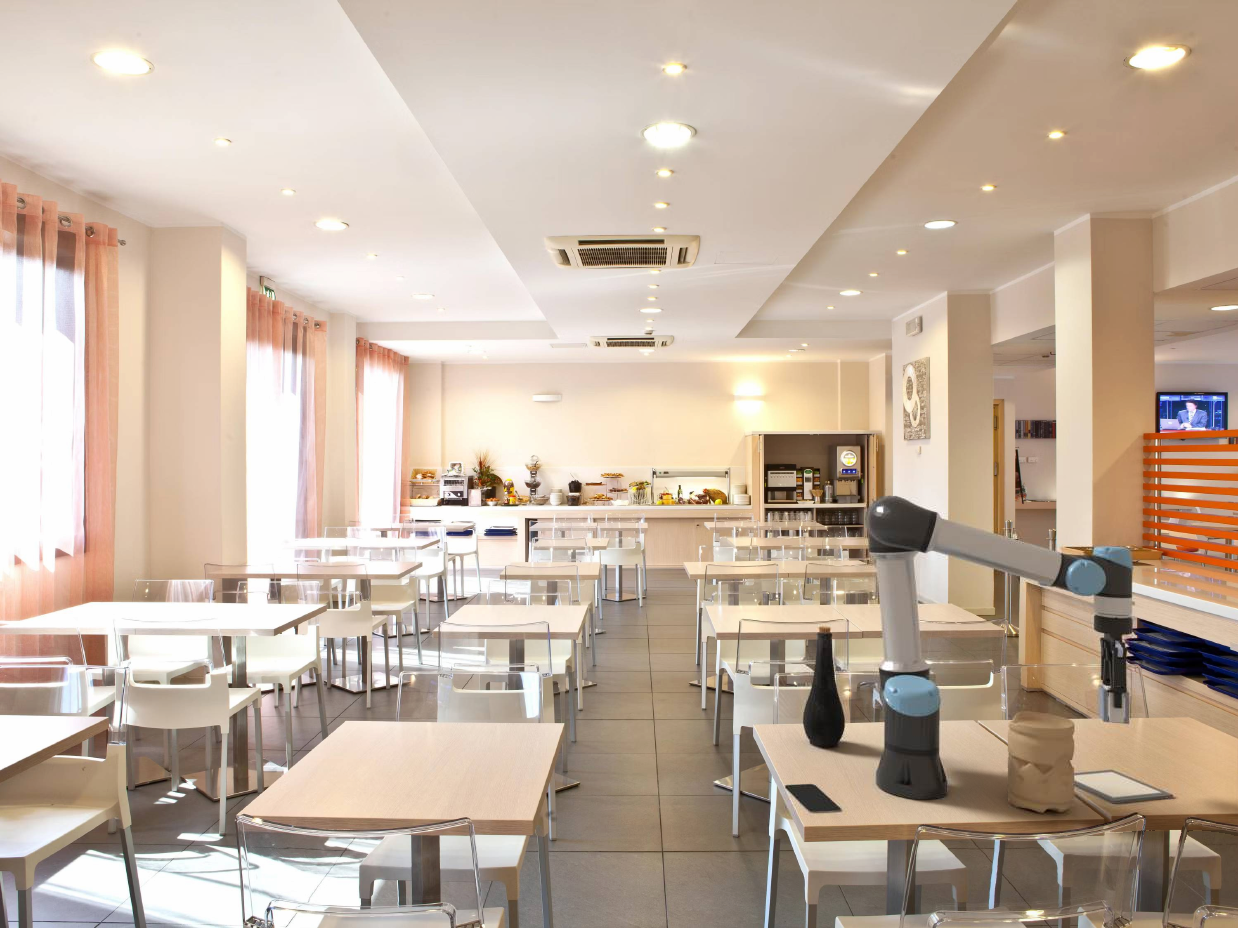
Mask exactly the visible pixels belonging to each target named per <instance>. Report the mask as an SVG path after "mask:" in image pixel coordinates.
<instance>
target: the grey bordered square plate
mask: <svg viewBox="0 0 1238 928" xmlns="http://www.w3.org/2000/svg"><path fill="white" fill-rule="evenodd" d="M1074 787H1076V788H1079V789H1080V790H1083V791H1084V792H1087V793H1089V794H1091V795H1093V796H1095V797H1099V798H1100V799H1102V800H1105V801H1107V802H1109V803H1111V804H1113V805H1114V804H1115V805H1116V804H1123V803H1124V802H1125V803H1134V801H1135V802H1143V801H1153V800H1152V799H1154V800H1160V798H1164V799H1167V798H1166V797H1173V798H1174V794H1172V793H1170V792H1168V791H1165V790H1162V789H1160V788H1158V787H1155V786H1152V785H1150V784H1149V783H1145V782H1142V781H1141V780H1138V779H1135V778H1133V777H1130V776H1128V775H1126V774H1124V773H1120V772H1119V771H1116V770H1114V769H1106V770H1105V769H1104V770H1094V771H1093V770H1092V771H1085V772H1084V771H1083V772H1074Z"/></svg>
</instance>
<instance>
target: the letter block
mask: <svg viewBox="0 0 1238 928" xmlns="http://www.w3.org/2000/svg"><path fill="white" fill-rule="evenodd" d="M1110 689H1111V686H1105V685H1103V684H1102V685H1101V684H1099V685H1098V689H1097V690H1098V692H1097V693H1098V709H1097V710H1098V718H1100V719H1101V721H1102V722H1103V723H1111V724H1113V723H1114V724H1118V723H1117V722H1110V721H1109V693H1108V692H1107V690H1110ZM1123 724H1125V725H1126V724H1127V725H1130V691H1128V690H1127V692H1126V693H1124V723H1122V725H1123Z"/></svg>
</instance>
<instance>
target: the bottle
mask: <svg viewBox="0 0 1238 928" xmlns="http://www.w3.org/2000/svg"><path fill="white" fill-rule="evenodd" d="M816 635H817V641H816V642H817V643H816V656H815V663H814V670H813V677H812V682H811V687H810V691H809V694H808V698H807V700H806V703H805V707H804V709H803V710H804V711H803V714H802V715H803V716H802V725H803V729H804V732H805V735H806V738H807V739H808V741H809V744H810V745H811V746H813V747H816V748H817V747H818V748H820V749H821V748H822V749H833V748H837V747H838V745H839V742H840V740H842V737H843V735H844V732H845V728H846V720H845V712H844V708H843V705H842V702H841V699H840V696H839V692H838V687H837V681H836V675H835V665H834V658H833V657H834V656H833V633H831V627H830V626H819V627H818V632H817V633H816Z"/></svg>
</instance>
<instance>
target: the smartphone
mask: <svg viewBox="0 0 1238 928" xmlns="http://www.w3.org/2000/svg"><path fill="white" fill-rule="evenodd" d="M784 789H785V790H786V791H787V792H788V793H789V794H790V795H791V796H792V797H793V798H794V799H795V800H796V801H797V802H798V803H799V804H800V805H801V806H802V807H803V809H804V810H806V811H807V812H808V813H810V814H815V813H816V814H818V813H819V814H822V813H823V814H824V813H839V812H841V811H842V809H841V807H840V806H839V805H838V804H837V803H836V802H835V801H833V800H832V799H831V798H830V797H829V796H828V795H827V794H826V793H825V792H823V790H821V789H820V788H819V787H818V786H817V785H816V784H812V783H805V784H804V783H803V784H801V783H800V784H799V783H798V784H786V785H784Z"/></svg>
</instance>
